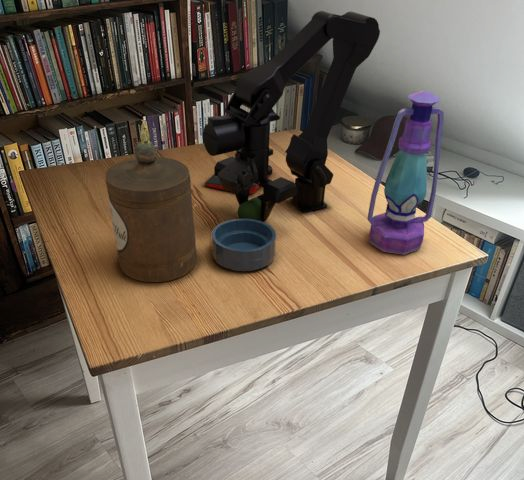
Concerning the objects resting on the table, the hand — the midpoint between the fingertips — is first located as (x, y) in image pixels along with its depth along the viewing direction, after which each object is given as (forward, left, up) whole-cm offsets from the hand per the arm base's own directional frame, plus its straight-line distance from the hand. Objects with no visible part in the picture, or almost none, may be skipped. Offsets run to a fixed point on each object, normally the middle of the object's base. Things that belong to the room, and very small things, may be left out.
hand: (253, 216), depth 122 cm
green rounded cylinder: (0, 0, -1) cm, 1 cm away
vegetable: (+19, -12, -1) cm, 23 cm away
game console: (-6, -20, -1) cm, 21 cm away
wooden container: (+24, +7, -1) cm, 25 cm away
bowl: (+8, +12, -1) cm, 14 cm away
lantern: (-23, +20, -1) cm, 31 cm away
